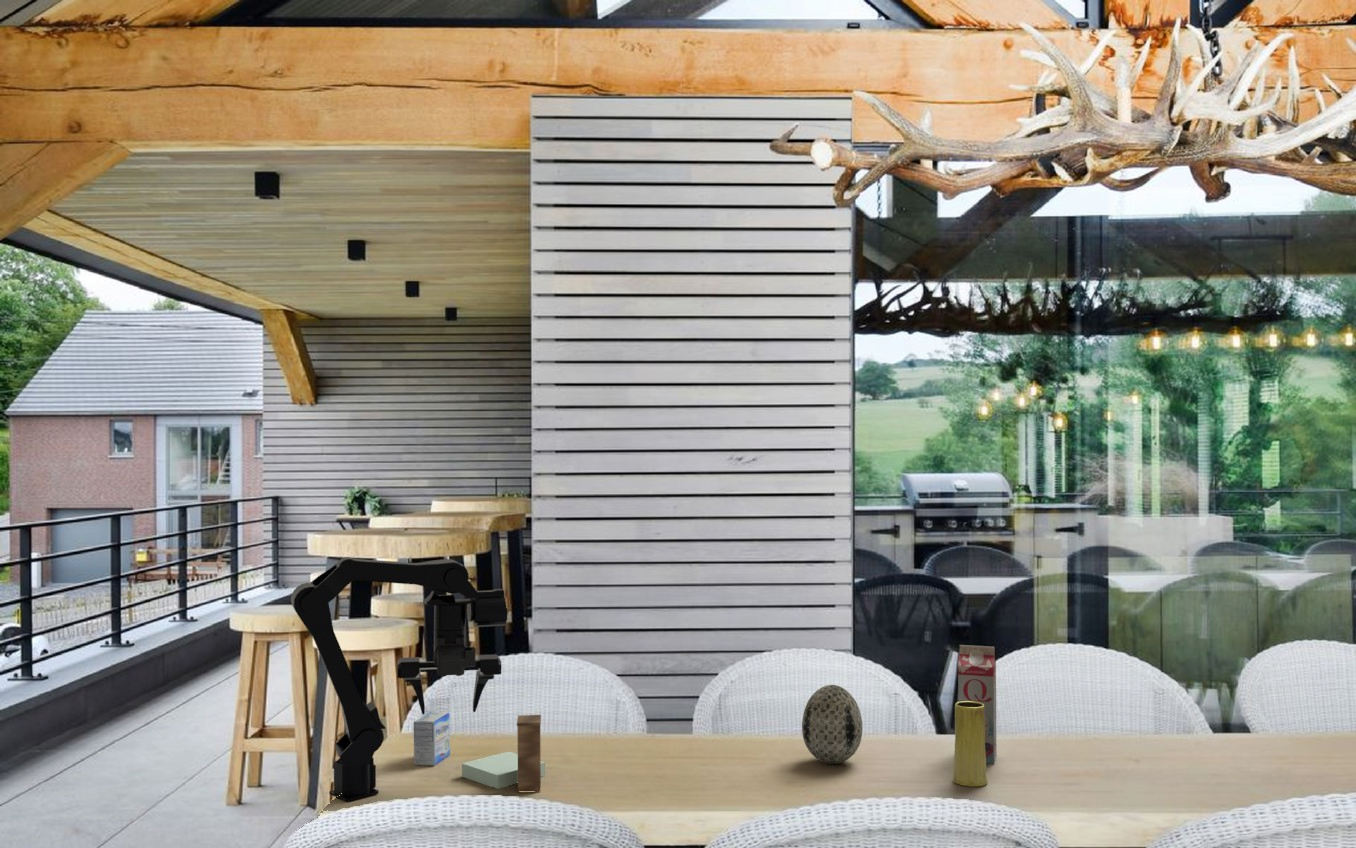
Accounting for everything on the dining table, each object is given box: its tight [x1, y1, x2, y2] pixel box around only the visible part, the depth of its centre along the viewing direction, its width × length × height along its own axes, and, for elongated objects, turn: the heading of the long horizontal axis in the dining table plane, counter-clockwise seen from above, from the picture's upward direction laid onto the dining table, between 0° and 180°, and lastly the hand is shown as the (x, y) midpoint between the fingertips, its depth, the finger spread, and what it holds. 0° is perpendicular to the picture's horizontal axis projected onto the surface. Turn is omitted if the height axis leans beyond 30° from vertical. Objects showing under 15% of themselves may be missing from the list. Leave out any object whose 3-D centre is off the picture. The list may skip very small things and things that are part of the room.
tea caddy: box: [516, 714, 542, 792], centre depth 213 cm, size 4×6×12 cm
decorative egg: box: [801, 684, 864, 765], centre depth 227 cm, size 12×12×15 cm
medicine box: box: [413, 711, 451, 767], centre depth 231 cm, size 8×4×9 cm, turn 168°
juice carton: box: [957, 644, 997, 765], centre depth 230 cm, size 7×7×22 cm
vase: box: [952, 701, 988, 788], centre depth 214 cm, size 6×6×14 cm
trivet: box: [461, 751, 546, 790], centre depth 220 cm, size 11×11×2 cm
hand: (448, 712), depth 216 cm, fingers open, 9 cm apart
